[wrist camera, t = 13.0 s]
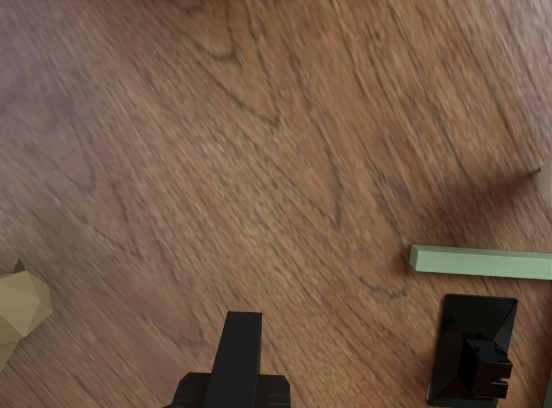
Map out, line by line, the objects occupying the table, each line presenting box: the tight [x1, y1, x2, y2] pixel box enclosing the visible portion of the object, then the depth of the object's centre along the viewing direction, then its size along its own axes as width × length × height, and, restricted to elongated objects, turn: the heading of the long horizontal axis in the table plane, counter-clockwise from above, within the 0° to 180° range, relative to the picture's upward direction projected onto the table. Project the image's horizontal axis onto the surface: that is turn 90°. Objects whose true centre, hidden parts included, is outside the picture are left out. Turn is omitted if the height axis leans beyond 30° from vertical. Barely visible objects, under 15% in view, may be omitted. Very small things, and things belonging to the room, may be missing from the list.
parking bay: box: [409, 244, 552, 408], centre depth 40 cm, size 20×18×2 cm
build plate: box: [426, 294, 518, 408], centre depth 39 cm, size 12×7×5 cm, turn 176°
